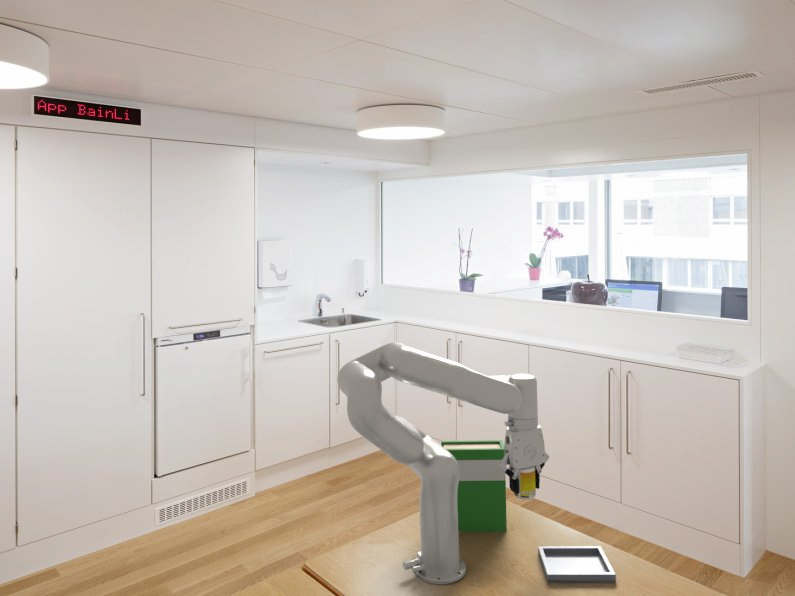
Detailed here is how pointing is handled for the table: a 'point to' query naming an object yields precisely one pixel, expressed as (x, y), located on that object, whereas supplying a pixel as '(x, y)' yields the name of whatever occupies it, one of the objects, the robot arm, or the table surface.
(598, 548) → the tray
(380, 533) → the table surface
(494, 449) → the hardback book
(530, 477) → the supplement bottle
